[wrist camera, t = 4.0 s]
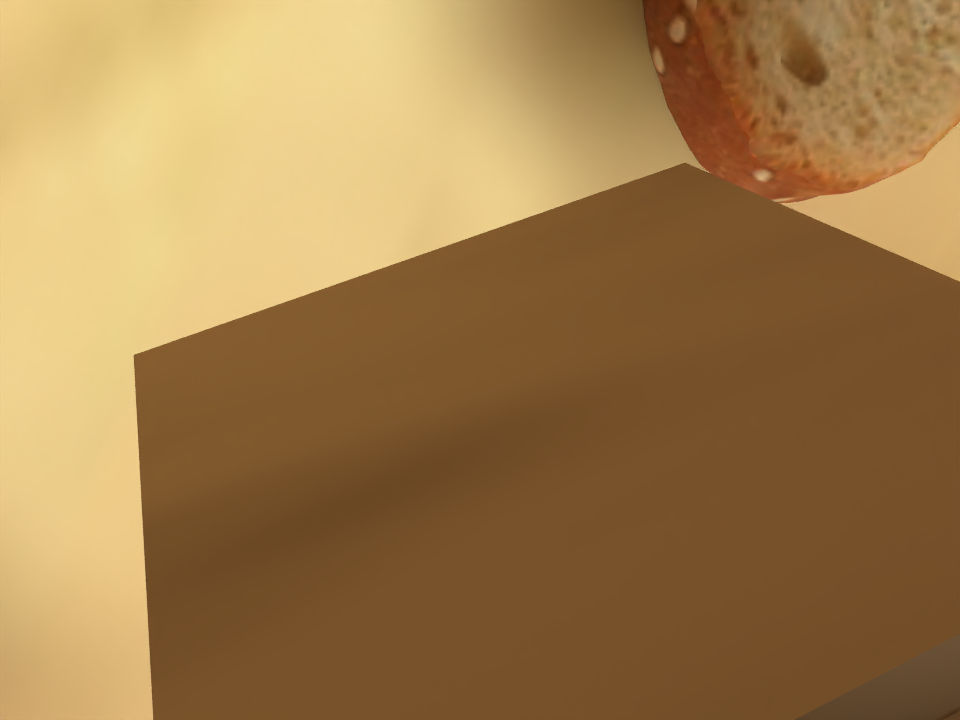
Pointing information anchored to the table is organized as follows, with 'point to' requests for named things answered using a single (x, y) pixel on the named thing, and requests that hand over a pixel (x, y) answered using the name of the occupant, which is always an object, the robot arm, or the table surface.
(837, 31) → the slice of bread
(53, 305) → the table surface
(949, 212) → the table surface
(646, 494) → the walnut cube
